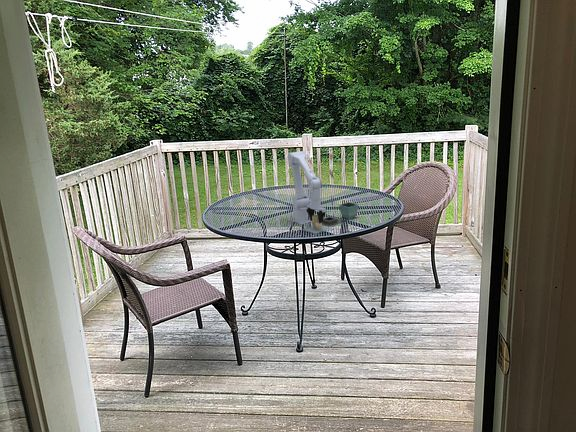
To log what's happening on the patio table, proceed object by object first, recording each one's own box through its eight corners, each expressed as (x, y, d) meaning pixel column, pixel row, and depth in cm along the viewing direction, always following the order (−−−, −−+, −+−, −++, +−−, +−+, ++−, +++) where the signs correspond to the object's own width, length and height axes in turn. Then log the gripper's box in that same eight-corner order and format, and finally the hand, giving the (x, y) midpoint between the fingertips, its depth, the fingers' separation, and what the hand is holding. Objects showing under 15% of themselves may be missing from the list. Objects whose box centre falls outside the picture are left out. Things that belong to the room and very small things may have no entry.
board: (302, 230, 273) (302, 229, 273) (317, 225, 280) (317, 224, 280) (315, 234, 264) (315, 233, 264) (331, 229, 271) (331, 228, 271)
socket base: (311, 222, 286) (311, 219, 285) (330, 217, 295) (330, 213, 295) (328, 228, 274) (328, 224, 273) (347, 221, 283) (347, 218, 282)
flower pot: (348, 221, 285) (348, 207, 282) (339, 218, 291) (338, 204, 289) (358, 218, 289) (358, 204, 287) (349, 215, 296) (349, 202, 294)
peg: (312, 228, 273) (312, 215, 270) (317, 227, 275) (317, 214, 273) (317, 230, 270) (316, 217, 267) (322, 228, 272) (321, 215, 270)
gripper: (329, 200, 264) (329, 222, 267) (312, 196, 275) (313, 217, 278) (320, 202, 259) (320, 225, 263) (303, 198, 271) (304, 220, 274)
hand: (316, 221), depth 271 cm, fingers open, 7 cm apart
